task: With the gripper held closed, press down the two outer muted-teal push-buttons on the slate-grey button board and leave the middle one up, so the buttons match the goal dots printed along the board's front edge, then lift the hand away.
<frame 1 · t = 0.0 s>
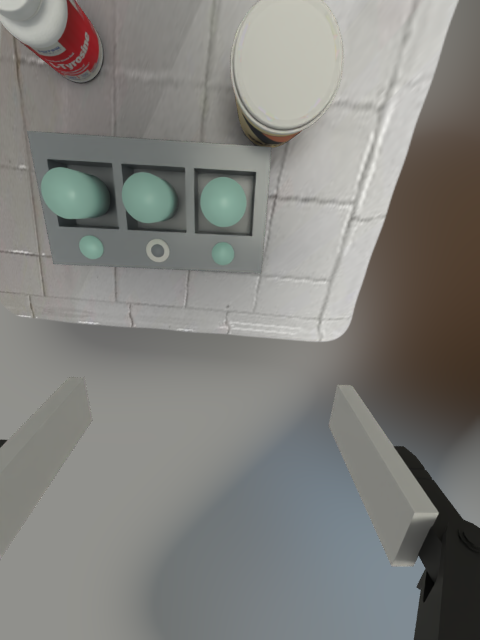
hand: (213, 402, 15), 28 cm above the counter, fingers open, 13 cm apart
board: (165, 209, 37), on the counter
pill bottle: (77, 50, 31), on the counter
button c: (224, 203, 31), point 6 cm above the counter, slide at 0.0 cm
button b: (152, 199, 31), point 6 cm above the counter, slide at 0.0 cm
button a: (78, 195, 30), point 6 cm above the counter, slide at 0.0 cm
coffee cup: (269, 111, 33), on the counter
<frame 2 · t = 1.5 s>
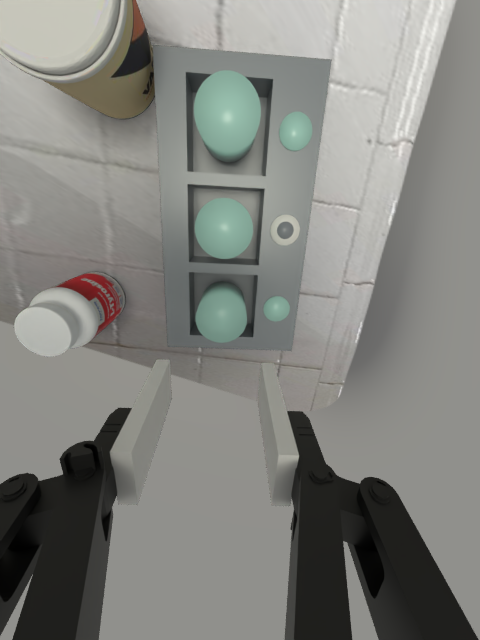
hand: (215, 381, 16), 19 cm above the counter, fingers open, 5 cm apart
board: (235, 225, 31), on the counter
pill bottle: (101, 295, 34), on the counter
button c: (227, 122, 22), point 6 cm above the counter, slide at 0.0 cm
button b: (224, 227, 25), point 6 cm above the counter, slide at 0.0 cm
button a: (222, 310, 28), point 6 cm above the counter, slide at 0.0 cm
coffee cup: (117, 71, 26), on the counter
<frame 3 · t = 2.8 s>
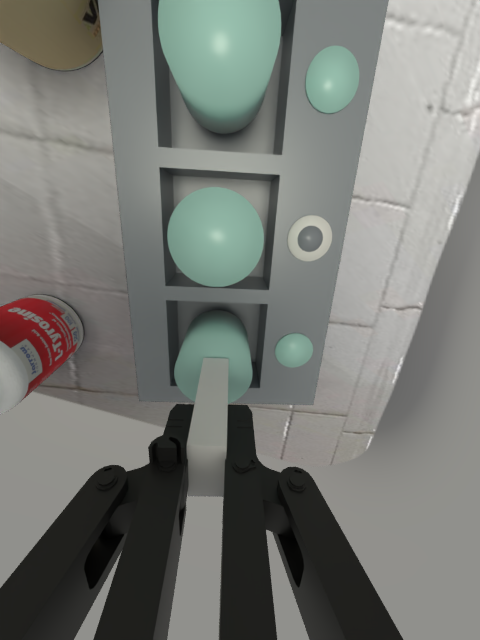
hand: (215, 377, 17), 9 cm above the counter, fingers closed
board: (233, 229, 22), on the counter
pill bottle: (51, 325, 25), on the counter
button c: (221, 60, 13), point 6 cm above the counter, slide at 0.0 cm
button b: (218, 235, 16), point 6 cm above the counter, slide at 0.0 cm
button a: (215, 354, 19), point 6 cm above the counter, slide at 0.2 cm, touching gripper
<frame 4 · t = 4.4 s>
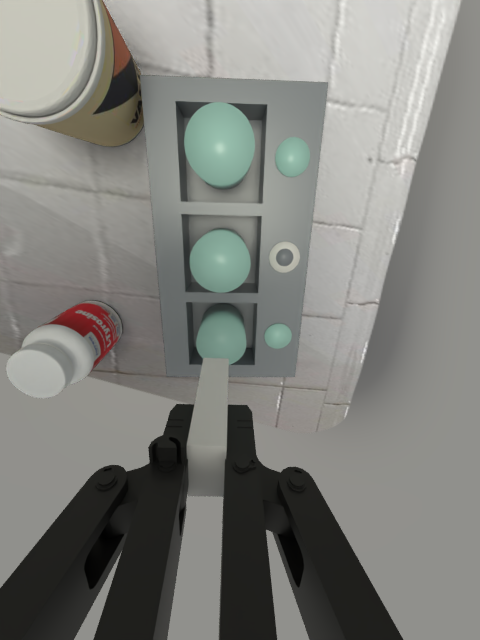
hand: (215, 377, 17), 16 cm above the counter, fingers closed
board: (232, 249, 30), on the counter
pill bottle: (98, 323, 33), on the counter
button c: (221, 152, 21), point 6 cm above the counter, slide at 0.0 cm
button b: (221, 258, 24), point 6 cm above the counter, slide at 0.0 cm
button a: (222, 333, 29), point 5 cm above the counter, slide at 1.8 cm
coffee cup: (105, 98, 25), on the counter
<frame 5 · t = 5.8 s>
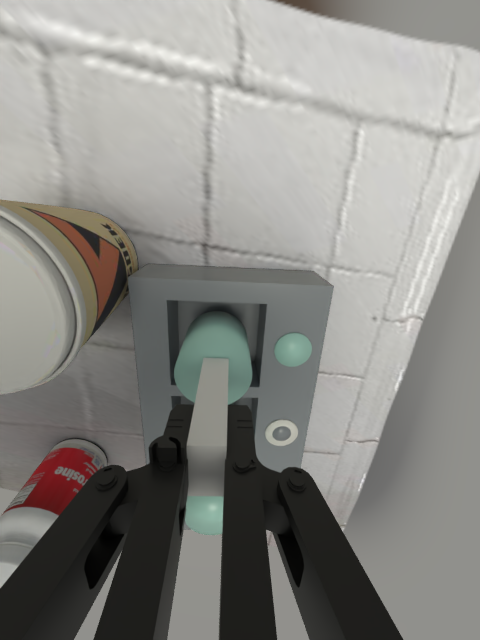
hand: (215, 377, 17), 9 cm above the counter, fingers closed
board: (226, 394, 28), on the counter
pill bottle: (81, 456, 31), on the counter
button c: (215, 355, 19), point 6 cm above the counter, slide at 0.0 cm, touching gripper
button b: (213, 442, 22), point 6 cm above the counter, slide at 0.0 cm
button a: (213, 491, 27), point 5 cm above the counter, slide at 1.8 cm
coffee cup: (92, 259, 23), on the counter
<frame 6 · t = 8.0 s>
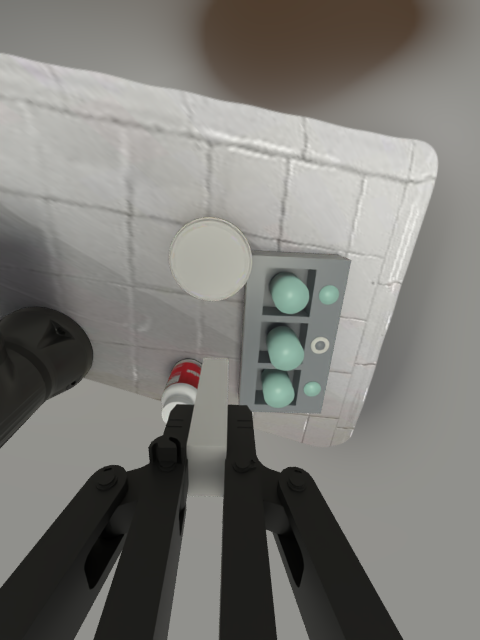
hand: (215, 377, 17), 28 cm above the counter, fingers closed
board: (283, 330, 47), on the counter
pill bottle: (189, 372, 49), on the counter
button c: (288, 292, 39), point 5 cm above the counter, slide at 1.8 cm
button b: (283, 347, 41), point 6 cm above the counter, slide at 0.0 cm
button a: (276, 385, 45), point 5 cm above the counter, slide at 1.8 cm
coffee cup: (216, 248, 41), on the counter
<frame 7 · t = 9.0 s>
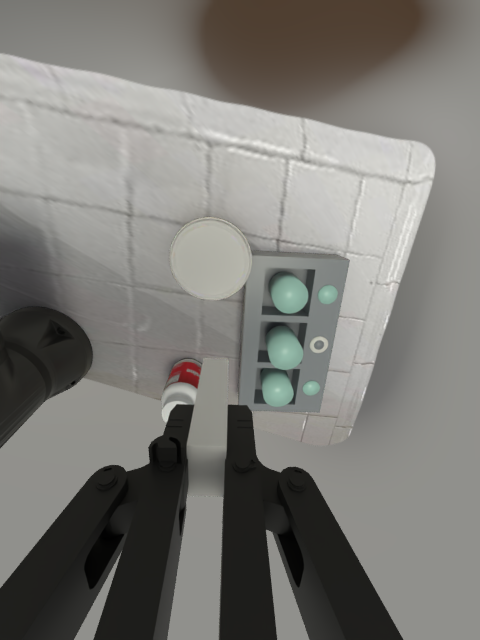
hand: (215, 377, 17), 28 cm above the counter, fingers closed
board: (282, 330, 47), on the counter
pill bottle: (189, 371, 50), on the counter
button c: (287, 291, 40), point 5 cm above the counter, slide at 1.8 cm
button b: (283, 347, 41), point 6 cm above the counter, slide at 0.0 cm
button a: (276, 385, 45), point 5 cm above the counter, slide at 1.8 cm
coffee cup: (215, 248, 42), on the counter
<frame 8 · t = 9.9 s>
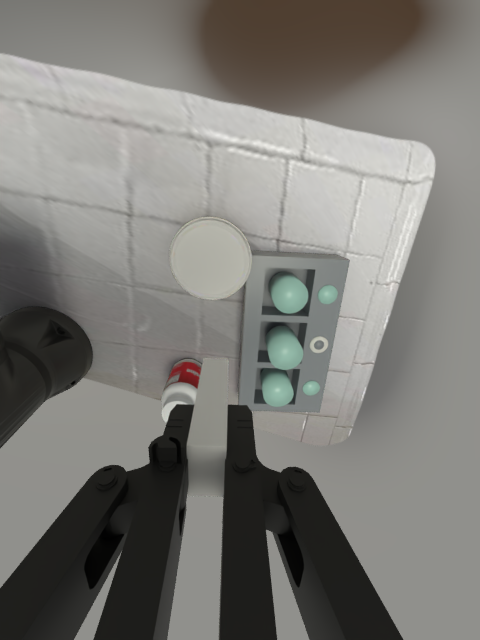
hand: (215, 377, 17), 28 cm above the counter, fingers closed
board: (282, 330, 47), on the counter
pill bottle: (189, 371, 50), on the counter
button c: (287, 291, 40), point 5 cm above the counter, slide at 1.8 cm
button b: (283, 347, 41), point 6 cm above the counter, slide at 0.0 cm
button a: (276, 385, 45), point 5 cm above the counter, slide at 1.8 cm
coffee cup: (215, 248, 42), on the counter
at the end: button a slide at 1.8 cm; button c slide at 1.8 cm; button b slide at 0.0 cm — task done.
